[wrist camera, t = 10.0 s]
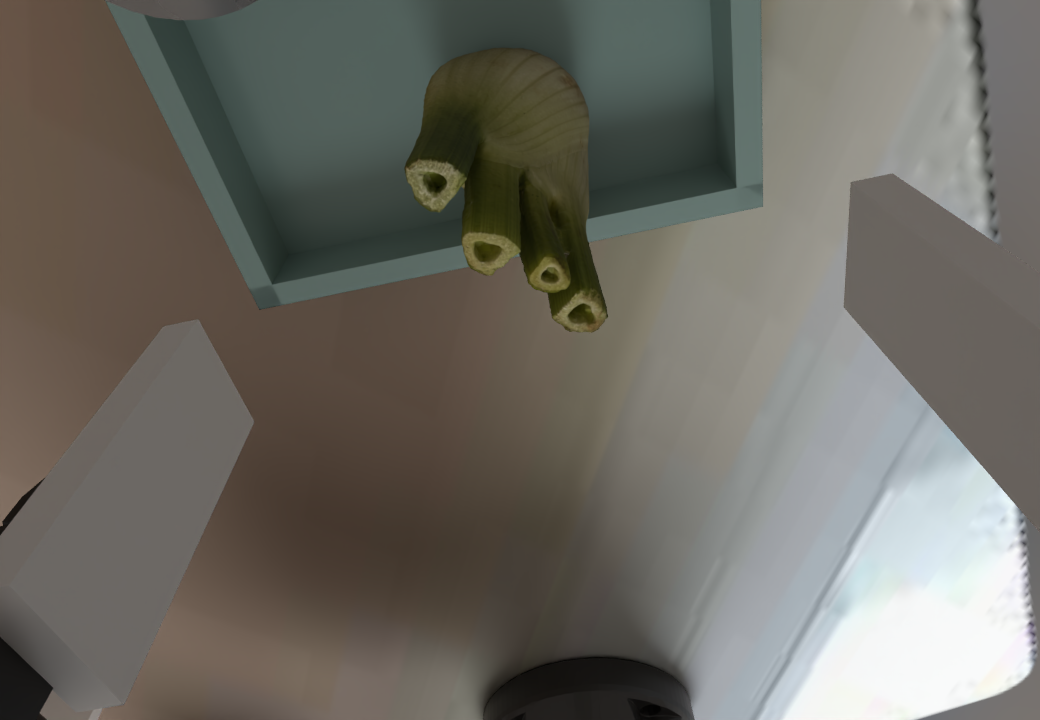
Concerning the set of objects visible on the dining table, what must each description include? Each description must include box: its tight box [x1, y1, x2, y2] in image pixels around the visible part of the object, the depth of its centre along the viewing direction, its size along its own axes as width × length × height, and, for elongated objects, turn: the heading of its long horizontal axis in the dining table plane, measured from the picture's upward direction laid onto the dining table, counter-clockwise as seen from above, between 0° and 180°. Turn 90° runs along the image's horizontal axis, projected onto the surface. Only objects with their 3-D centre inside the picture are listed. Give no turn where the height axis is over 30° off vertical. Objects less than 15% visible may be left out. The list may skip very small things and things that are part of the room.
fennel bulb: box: [404, 48, 608, 332], centre depth 20 cm, size 6×5×12 cm
